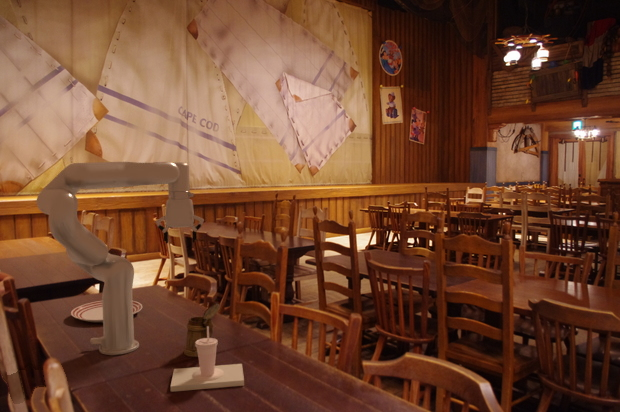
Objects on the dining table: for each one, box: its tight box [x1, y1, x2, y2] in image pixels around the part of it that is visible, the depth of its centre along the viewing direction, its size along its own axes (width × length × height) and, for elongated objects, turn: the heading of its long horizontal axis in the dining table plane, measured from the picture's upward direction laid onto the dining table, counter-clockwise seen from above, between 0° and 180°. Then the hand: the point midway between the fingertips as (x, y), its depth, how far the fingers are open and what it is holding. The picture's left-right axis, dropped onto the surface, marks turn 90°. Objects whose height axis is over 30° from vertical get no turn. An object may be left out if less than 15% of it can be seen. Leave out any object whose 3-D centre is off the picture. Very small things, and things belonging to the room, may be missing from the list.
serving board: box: [170, 363, 245, 392], centre depth 146 cm, size 20×12×2 cm, turn 100°
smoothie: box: [195, 326, 219, 377], centre depth 146 cm, size 6×6×14 cm
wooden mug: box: [183, 302, 220, 358], centre depth 166 cm, size 9×14×18 cm, turn 55°
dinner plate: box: [70, 300, 143, 323], centre depth 209 cm, size 28×27×3 cm
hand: (180, 242), depth 187 cm, fingers open, 9 cm apart
